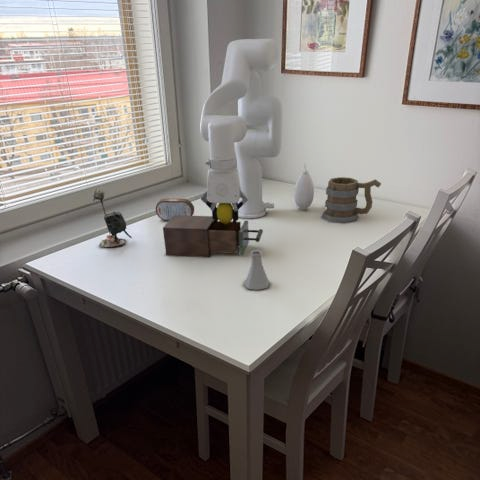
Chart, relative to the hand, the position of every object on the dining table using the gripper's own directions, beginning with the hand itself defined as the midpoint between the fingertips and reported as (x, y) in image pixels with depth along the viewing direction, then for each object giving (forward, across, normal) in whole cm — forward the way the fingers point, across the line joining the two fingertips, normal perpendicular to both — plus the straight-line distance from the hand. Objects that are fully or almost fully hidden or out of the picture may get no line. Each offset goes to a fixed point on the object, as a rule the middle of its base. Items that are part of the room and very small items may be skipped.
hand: (225, 221), depth 150 cm
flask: (+10, +14, -24) cm, 29 cm away
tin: (+10, -26, +28) cm, 40 cm away
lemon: (+1, 0, 0) cm, 1 cm away
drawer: (+9, +2, 0) cm, 9 cm away
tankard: (+10, +41, +36) cm, 55 cm away
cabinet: (+10, -12, 0) cm, 16 cm away
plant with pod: (+10, -40, +1) cm, 42 cm away
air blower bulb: (+10, +22, +45) cm, 52 cm away
